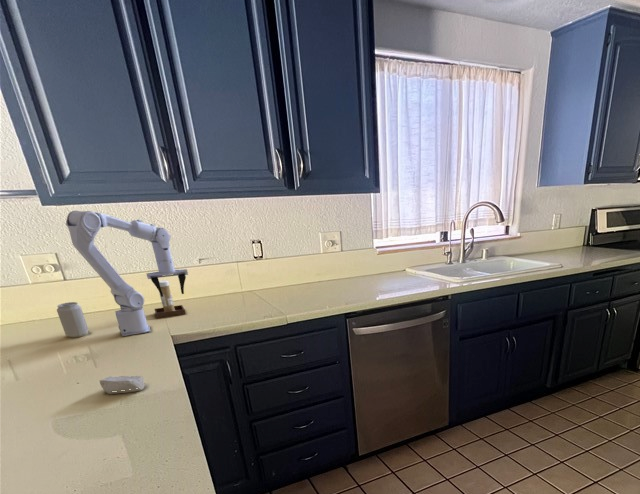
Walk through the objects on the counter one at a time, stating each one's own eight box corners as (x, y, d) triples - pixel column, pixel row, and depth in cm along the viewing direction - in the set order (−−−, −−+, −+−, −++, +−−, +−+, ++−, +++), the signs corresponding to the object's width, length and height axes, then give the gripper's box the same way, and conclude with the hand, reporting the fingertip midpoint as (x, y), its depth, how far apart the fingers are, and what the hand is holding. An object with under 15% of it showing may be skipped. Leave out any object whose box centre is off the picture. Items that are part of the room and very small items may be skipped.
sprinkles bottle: (176, 312, 183) (169, 281, 178) (165, 314, 181) (157, 282, 175) (174, 310, 187) (167, 279, 181) (163, 312, 185) (155, 281, 179)
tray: (157, 318, 178) (155, 313, 177) (155, 313, 186) (154, 308, 185) (185, 314, 183) (184, 309, 182) (183, 309, 190) (182, 304, 190)
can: (87, 330, 165) (76, 300, 160) (92, 334, 160) (81, 303, 155) (64, 335, 161) (53, 304, 155) (68, 339, 156) (57, 307, 151)
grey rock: (146, 397, 119) (149, 377, 118) (134, 402, 113) (139, 380, 112) (108, 388, 118) (112, 368, 117) (95, 392, 111) (99, 371, 111)
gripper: (183, 256, 172) (190, 290, 178) (142, 260, 165) (151, 295, 171) (185, 259, 166) (192, 293, 172) (143, 263, 160) (153, 298, 166)
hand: (172, 294), depth 171 cm, fingers open, 7 cm apart
